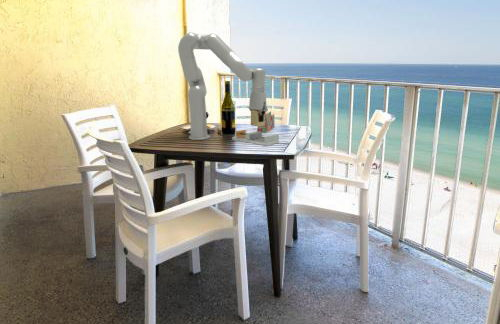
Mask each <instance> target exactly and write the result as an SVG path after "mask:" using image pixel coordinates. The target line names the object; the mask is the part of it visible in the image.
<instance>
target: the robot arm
mask: <svg viewBox="0 0 500 324" xmlns="http://www.w3.org/2000/svg"><path fill="white" fill-rule="evenodd" d="M177 46H178V47H177V48H178V49H177V50H178V56H179V60H180V65H181V68H182V72H183V77H184V80H186V81H187V82H188V86H189V89H188V91H187V92H188V93H187V97H188V107H189V108H188V109H189V121H190V130H189V131H188V132H187V133H188V134H190V135H189V136H188V140H192V141H201V140H202V141H203V140H208V139H210V138H211V135H209V134H208V127H207V126H208V123H207V122H208V121H207V106H206V95H207V93H208V92H207V87H206V83H205V80H204V75H203V72H202V70H201V68H200V67H199V66H198V63H197V60H196V56H195V54H194V53H195V52H194V50H209V51H211V52H212V53H213V54H214V55H215V56H216V57H217V58H218V59H219V60H220V61H221V62H222V63H223V64H224V65H225V66H226V67H227V68H229V69H230V70H231V71H232V72H233V73H234V75H235V76H236V77H238V79H240V80H241V81H242V82H249V81H251V88H250V90H251V92H250V95H249V104H248V105H249V106H248V110H249V111H250V112H251V110H259V111H260V115H259V122H263V121H264V115H265V113H266V112H267V111H269V109H268V106H267V94H266V90H265V89H266V69H265V68H261V67H256V68H249V67H248V66H247V65H246V64H244V62H243V61H242V60H241V59H240V58H239V57H238V55H236V53H235V52H234V50H232V49H231V48H230V46H229V45H227V43H226V42H224V40H222V38H221V37H220V36H219V35H218V34H216V33H213V32H212V33H209V34H205V33H204V34H199V33H195V32H187V33H186V34H184V35H183V36H182V37H181V39H180V40H179V41H178V45H177Z"/></svg>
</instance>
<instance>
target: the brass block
mask: <svg viewBox="0 0 500 324" xmlns="http://www.w3.org/2000/svg"><path fill="white" fill-rule="evenodd" d="M259 115H260V111H259V110H251V111H250V126H252V127H253V126H254V127H257V126H262V125H265V115H264V121H263V122H259Z"/></svg>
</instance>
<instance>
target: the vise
mask: <svg viewBox="0 0 500 324" xmlns="http://www.w3.org/2000/svg"><path fill="white" fill-rule="evenodd" d="M231 139H232V141H237V142H243V143H248V144H256V145H260V146H266V147H268V146H272V145H276V144H279V143H280V134H272V135H267V136H264V137H263V136H262V137H260V138H255V139H251V140H249V139H247V135H244V136H239V137H236V135H234V136H232V137H231Z"/></svg>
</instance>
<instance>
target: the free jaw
mask: <svg viewBox="0 0 500 324" xmlns="http://www.w3.org/2000/svg"><path fill="white" fill-rule="evenodd" d="M244 135H247V139H249V140H251V139H255V138H260V137H263V133H262V132H260V131H258V132H257V131H254V132H247V130H246V129H242V130H236V131H235V136H236V137H239V136H244Z"/></svg>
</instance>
